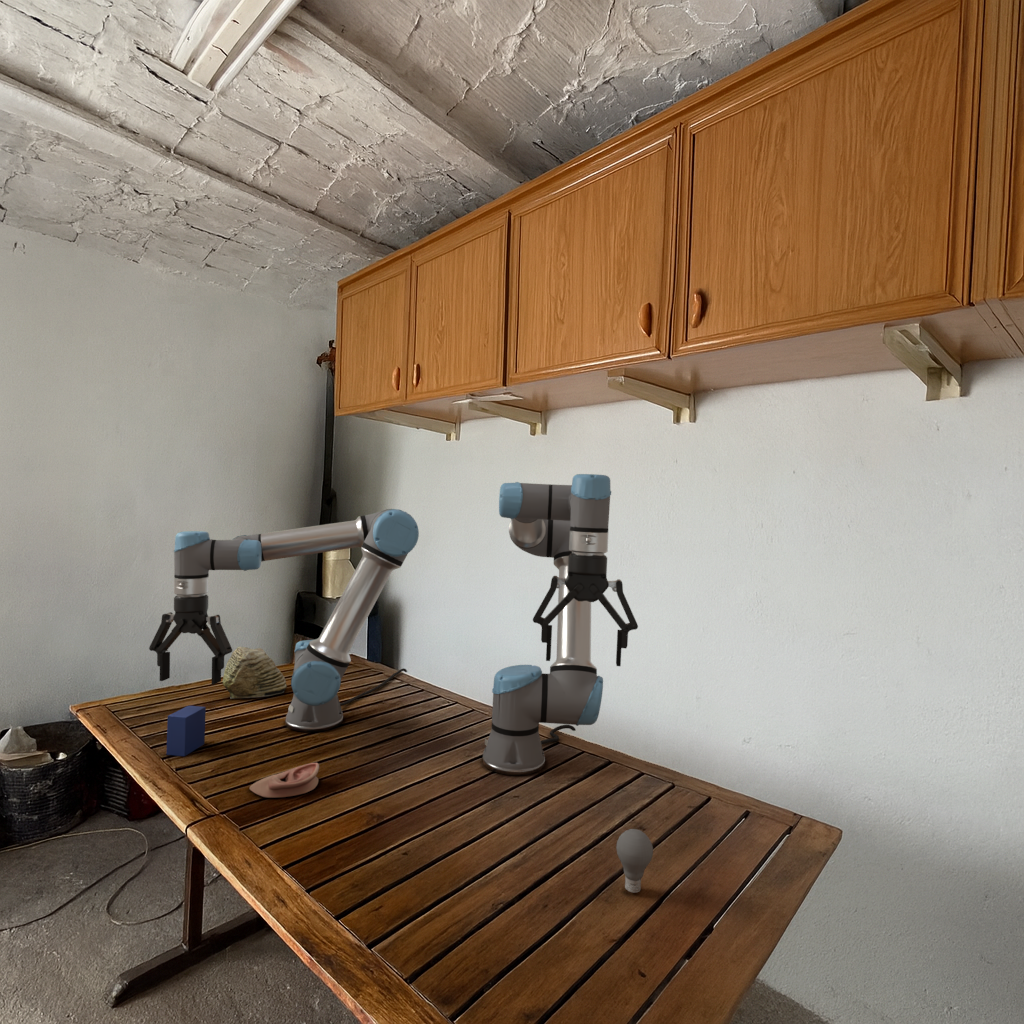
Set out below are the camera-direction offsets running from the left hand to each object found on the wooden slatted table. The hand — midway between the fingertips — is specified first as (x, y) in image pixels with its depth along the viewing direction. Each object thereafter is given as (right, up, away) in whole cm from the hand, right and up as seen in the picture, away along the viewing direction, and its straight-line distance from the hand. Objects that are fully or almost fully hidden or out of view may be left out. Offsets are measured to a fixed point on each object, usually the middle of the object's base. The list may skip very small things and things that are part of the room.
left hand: (190, 681), depth 155 cm
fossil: (-2, -16, +43) cm, 46 cm away
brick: (-1, -17, 0) cm, 17 cm away
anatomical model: (+29, -18, -18) cm, 39 cm away
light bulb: (+99, -22, -49) cm, 113 cm away
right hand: (+93, +12, -31) cm, 98 cm away
